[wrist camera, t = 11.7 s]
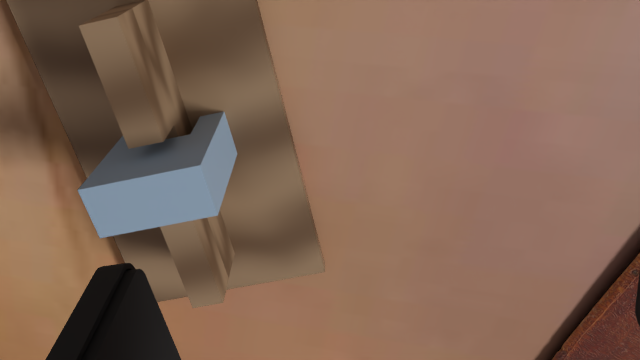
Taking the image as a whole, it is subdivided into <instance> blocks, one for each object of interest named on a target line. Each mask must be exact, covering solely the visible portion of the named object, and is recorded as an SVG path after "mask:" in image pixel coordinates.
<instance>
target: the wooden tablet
mask: <svg viewBox="0 0 640 360" xmlns="http://www.w3.org/2000/svg"><path fill="white" fill-rule="evenodd" d="M639 272H640V253H639V254H638V255H637V256H636V258H635V259H634V260H633V262H632V263H631V264H630V265H629V266H628V267H627V268H626V270H625V271H624V272H623V273H622V274H621V276H620V277H619V278H618V279H617V280H616V281H615V282H614V283H613V284H612V285H611V287H610V288H609V289H608V291H607V292H606V293H605V294H604V295H603V297H602V298H601V299H600V300H599V301H598V302H597V304H596V305H595V306H594V307H593V309H592V310H591V311H590V312H589V314H588V315H587V316H586V317H585V318H584V319H583V321H582V322H581V323H580V324H579V325H578V327H577V328H576V329H575V331H574V332H573V333H572V334H571V335H570V336H569V338H568V339H567V340H566V341H565V343H564V344H563V345H562V348H561V350H559V351H558V352H557V353H556V354H555V356H554V357H553V359H552V360H640V326H639V324H638V322H637V319H636V315H635V304H636V296H637V288H638V280H639Z"/></svg>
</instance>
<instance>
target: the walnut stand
mask: <svg viewBox="0 0 640 360" xmlns="http://www.w3.org/2000/svg"><path fill="white" fill-rule="evenodd" d="M6 1H7V3H8V5H9V8H10V10H11V12H12V14H13V16H14V19H15V21H16V23H17V25H18V27H19V30H20V32H21V34H22V36H23V38H24V41H25V43H26V45H27V47H28V50H29V52H30V54H31V56H32V58H33V61H34V63H35V65H36V67H37V69H38V72H39V74H40V76H41V78H42V80H43V83H44V85H45V87H46V89H47V91H48V94H49V96H50V98H51V100H52V102H53V105H54V107H55V109H56V111H57V114H58V116H59V118H60V120H61V122H62V125H63V127H64V129H65V131H66V133H67V136H68V138H69V140H70V142H71V144H72V147H73V149H74V151H75V153H76V155H77V158H78V160H79V162H80V164H81V167H82V169H83V171H84V173H85V175H86V178H88V177H89V176H90V174H91V173H92V172H93V171H94V170H95V168H96V167H97V166H98V165H99V164H100V162H101V161H102V160H103V159H104V158H105V156H106V155H107V154H108V153H109V152H110V150H111V149H112V148H113V147H114V146H115V144H116V143H117V142H118V141H119V140H120V138H121V137H122V136H123V137H124V139H125V142H126V144H127V147H128V149H131V148H136V147H140V146H145V145H150V144H155V143H160V142H164V140H165V139H170V138H175V137H179V136H184V135H189V134H191V132H192V130H193V128H194V127H195V125H196V123H197V121H198V119H199V117H200V116H205V115H210V114H214V113H219V112H225V115H226V119H227V122H228V125H229V128H230V132H231V135H232V138H233V141H234V144H235V148H236V151H237V157H236V160H235V163H234V166H233V169H232V172H231V176H230V179H229V182H228V185H227V188H226V191H225V194H224V198H223V201H222V204H221V207H220V210H219V213H218V216H213V217H208V218H202V219H197V220H192V221H187V222H182V223H176V224H171V225H166V226H161V227H156V228H150V229H145V230H140V231H135V232H130V233H125V234H119V235H114V236H113V237H114V239H115V242H116V244H117V246H118V248H119V250H120V253H121V255H122V257H123V259H124V261H125V263H131V264H132V265H133V266H134V267H135V269H142V270H143V271H144V273H145V275H146V277H147V279H148V282H149V284H150V287H151V289H152V291H153V294H154V296H155V298H156V301H157V302H160V301H166V300H171V299H177V298H182V297H189V300H190V302H191V305H192V307H193V308H196V307H202V306H207V305H213V304H219V303H223V301H224V297H225V293H226V290H227V289H233V288H238V287H244V286H250V285H255V284H261V283H266V282H272V281H278V280H283V279H289V278H294V277H300V276H305V275H311V274H317V273H322V272H325V263H324V259H323V255H322V251H321V248H320V244H319V240H318V236H317V232H316V228H315V224H314V220H313V216H312V213H311V209H310V205H309V201H308V197H307V193H306V189H305V185H304V181H303V178H302V174H301V170H300V166H299V162H298V158H297V154H296V150H295V146H294V142H293V139H292V135H291V131H290V127H289V123H288V119H287V115H286V111H285V107H284V104H283V100H282V96H281V92H280V88H279V84H278V80H277V76H276V72H275V68H274V65H273V61H272V57H271V53H270V49H269V45H268V41H267V37H266V33H265V30H264V26H263V22H262V18H261V14H260V10H259V6H258V2H257V0H6Z"/></svg>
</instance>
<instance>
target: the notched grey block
mask: <svg viewBox="0 0 640 360" xmlns="http://www.w3.org/2000/svg"><path fill="white" fill-rule="evenodd" d="M236 157H237V151H236V148H235V144H234V141H233V138H232V135H231V132H230V128H229V125H228V122H227V119H226V115H225V112H219V113H214V114H210V115H205V116H200V117H199V119H198V121H197V123H196V125H195V127H194V128H193V130H192V132H191V134H189V135H184V136H179V137H175V138H170V139H165V140H164V142H160V143H155V144H150V145H145V146H140V147H136V148H131V149H128V147H127V144H126V142H125V139H124V137H123V136H122V137H121V138H120V140H119V141H118V142H117V143H116V144H115V146H114V147H113V148H112V149H111V150H110V152H109V153H108V154H107V155H106V156H105V158H104V159H103V160H102V161H101V162H100V164H99V165H98V166H97V167H96V168H95V170H94V171H93V172H92V173H91V174H90V176H89V177H88V178H87V179H86V180H85V182H84V183H83V184H82V185H81V186H80V188H79V189H78V192H79V194H80V196H81V198H82V201H83V203H84V205H85V207H86V209H87V211H88V213H89V216H90V218H91V220H92V222H93V224H94V226H95V228H96V231H97V233H98V235H99V237H100V238H104V237H109V236H114V235H119V234H125V233H130V232H135V231H140V230H145V229H150V228H156V227H161V226H166V225H171V224H176V223H182V222H187V221H192V220H197V219H202V218H208V217H213V216H218V213H219V210H220V207H221V204H222V201H223V198H224V194H225V191H226V188H227V185H228V182H229V179H230V176H231V172H232V169H233V166H234V163H235V160H236Z"/></svg>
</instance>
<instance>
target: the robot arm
mask: <svg viewBox="0 0 640 360" xmlns="http://www.w3.org/2000/svg"><path fill="white" fill-rule="evenodd" d="M635 315H636V319H637V322H638V324H639V326H640V272H639V280H638V288H637V296H636V304H635ZM46 360H181V358H180V356H179V353H178V351H177V349H176V346H175V344H174V341H173V339H172V337H171V334H170V332H169V329H168V327H167V325H166V322H165V320H164V318H163V315H162V313H161V310H160V308H159V306H158V303H157V301H156V298H155V296H154V294H153V291H152V289H151V287H150V284H149V282H148V279H147V277H146V275H145V273H144V271H143V270H142V269H135V267H134V266H133V265H132V264H131V263H123V264H116V265H109V266H103V267H100V268H98V269H97V270H96V271H95V273H94V275H93V277H92V279H91V280H90V282H89V284H88V286H87V287H86V289H85V291H84V293H83V294H82V296H81V298H80V300H79V302H78V303H77V305H76V307H75V309H74V310H73V312H72V314H71V316H70V317H69V319H68V321H67V323H66V325H65V326H64V328H63V330H62V332H61V333H60V335H59V337H58V339H57V340H56V342H55V344H54V346H53V347H52V349H51V351H50V353H49V355H48V356H47V358H46Z"/></svg>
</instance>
